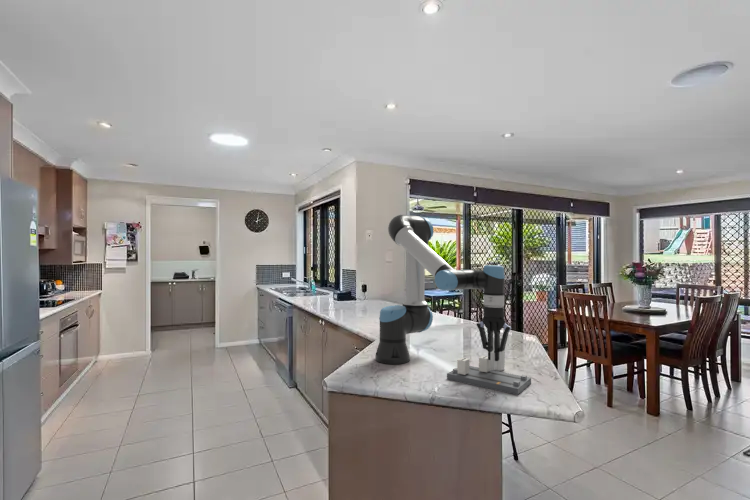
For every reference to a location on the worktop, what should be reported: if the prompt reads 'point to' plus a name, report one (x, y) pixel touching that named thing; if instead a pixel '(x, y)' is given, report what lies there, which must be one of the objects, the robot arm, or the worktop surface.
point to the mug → (500, 359)
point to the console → (492, 380)
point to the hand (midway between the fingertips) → (493, 369)
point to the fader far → (484, 364)
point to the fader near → (463, 366)
